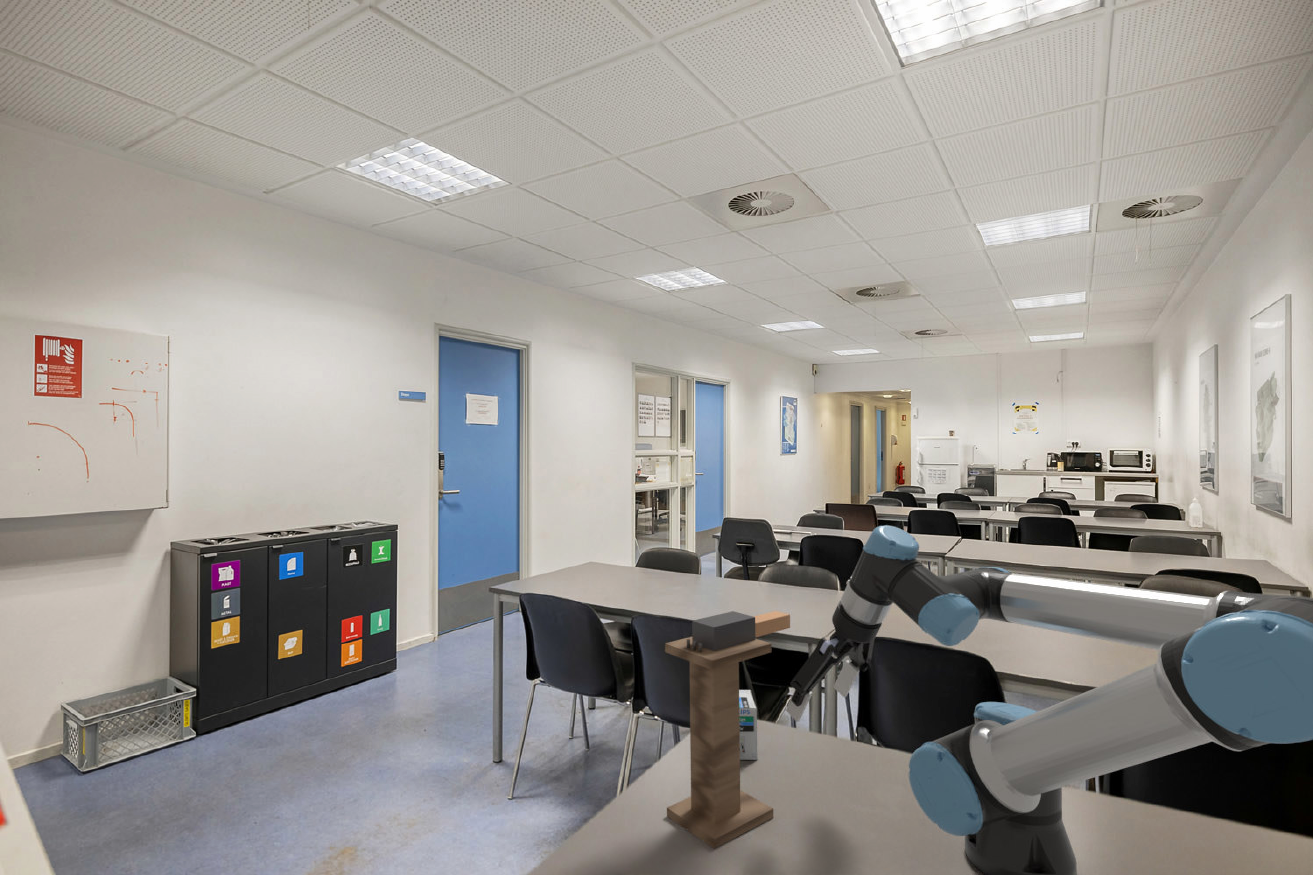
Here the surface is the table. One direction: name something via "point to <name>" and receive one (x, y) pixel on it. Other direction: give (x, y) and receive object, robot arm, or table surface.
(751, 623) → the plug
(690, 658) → the stand
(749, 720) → the light bulb box
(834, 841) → the table surface
